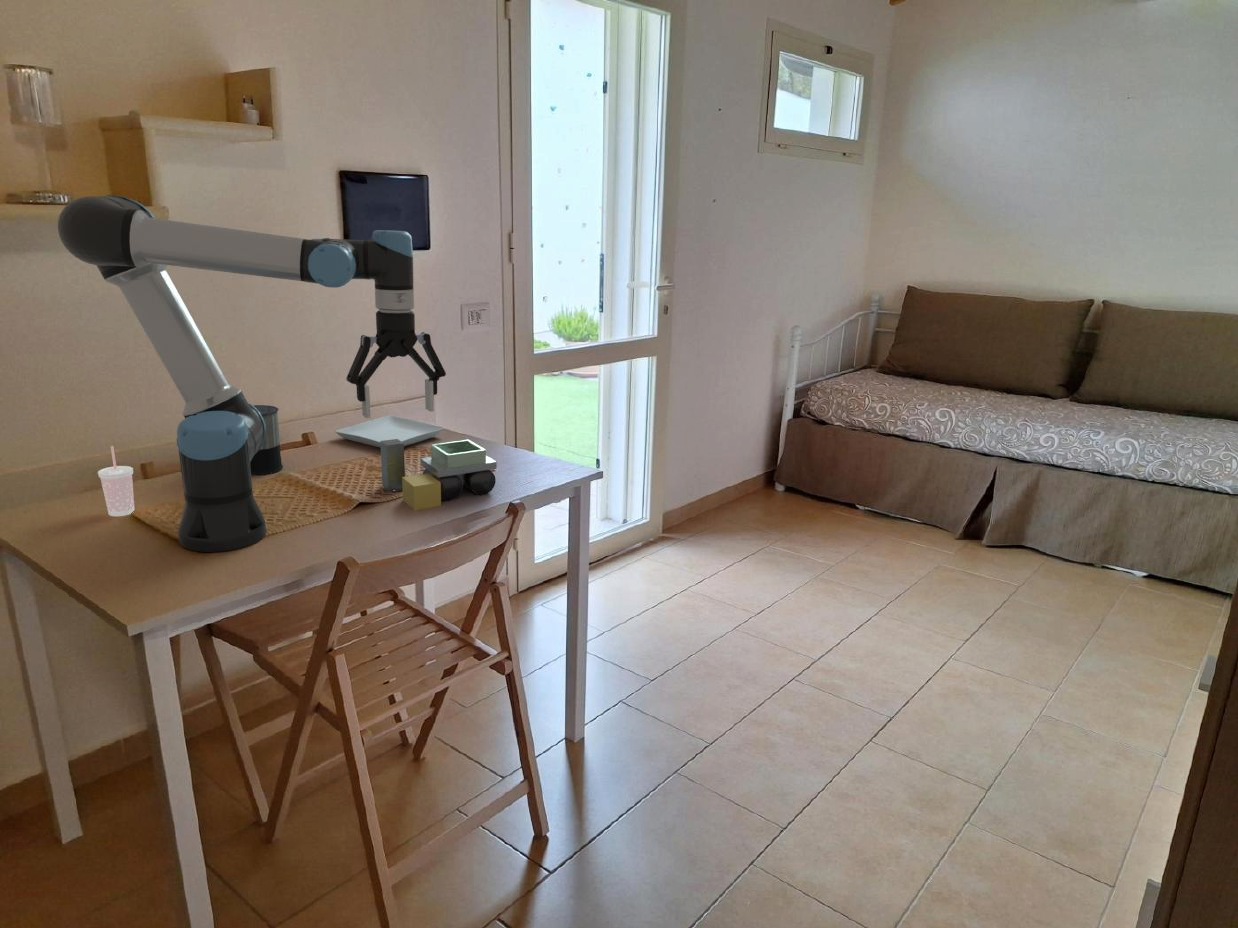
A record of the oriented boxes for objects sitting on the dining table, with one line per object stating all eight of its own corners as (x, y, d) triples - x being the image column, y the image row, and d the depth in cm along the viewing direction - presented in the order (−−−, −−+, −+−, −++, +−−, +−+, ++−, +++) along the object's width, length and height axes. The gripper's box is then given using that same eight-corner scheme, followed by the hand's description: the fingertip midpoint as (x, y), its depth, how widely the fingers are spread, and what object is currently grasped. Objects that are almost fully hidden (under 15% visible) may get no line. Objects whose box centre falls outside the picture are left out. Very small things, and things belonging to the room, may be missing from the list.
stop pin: (388, 492, 186) (386, 445, 183) (382, 487, 189) (380, 441, 186) (405, 489, 188) (403, 443, 185) (399, 484, 191) (397, 438, 188)
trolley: (438, 503, 181) (437, 457, 177) (421, 489, 188) (420, 445, 185) (496, 493, 188) (496, 449, 185) (477, 480, 196) (477, 438, 193)
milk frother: (292, 468, 199) (287, 408, 195) (235, 485, 186) (228, 422, 181) (252, 457, 205) (246, 399, 201) (194, 473, 192) (187, 412, 188)
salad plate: (390, 456, 213) (390, 443, 212) (333, 441, 223) (332, 429, 222) (446, 438, 230) (446, 426, 229) (391, 425, 240) (390, 414, 239)
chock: (414, 510, 176) (413, 486, 175) (402, 500, 182) (402, 477, 180) (441, 506, 179) (440, 482, 178) (428, 496, 185) (428, 473, 183)
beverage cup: (101, 510, 168) (91, 445, 164) (135, 504, 172) (126, 440, 168) (107, 519, 164) (96, 452, 160) (142, 513, 168) (132, 447, 163)
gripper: (337, 314, 156) (344, 423, 162) (460, 310, 169) (461, 411, 176) (326, 309, 161) (332, 415, 168) (445, 306, 175) (447, 403, 181)
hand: (398, 413), depth 172 cm, fingers open, 13 cm apart
